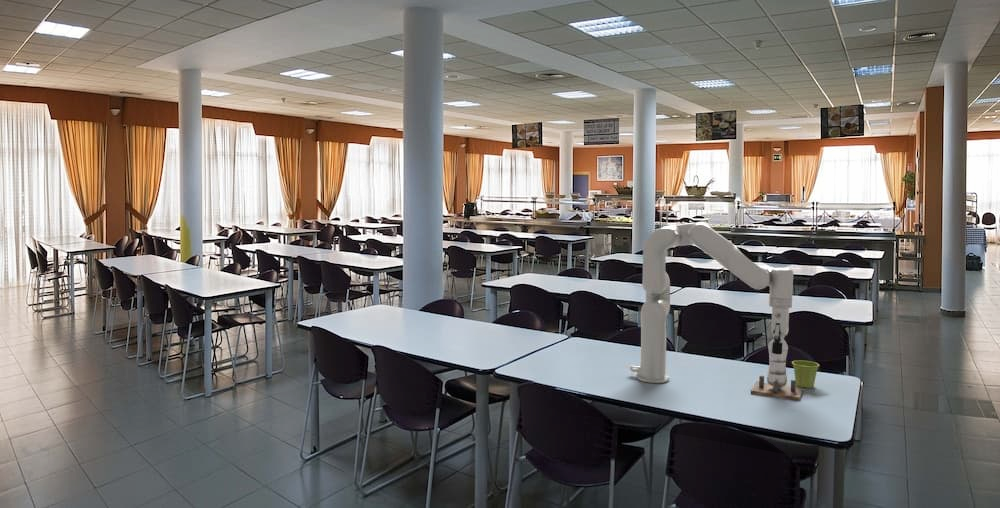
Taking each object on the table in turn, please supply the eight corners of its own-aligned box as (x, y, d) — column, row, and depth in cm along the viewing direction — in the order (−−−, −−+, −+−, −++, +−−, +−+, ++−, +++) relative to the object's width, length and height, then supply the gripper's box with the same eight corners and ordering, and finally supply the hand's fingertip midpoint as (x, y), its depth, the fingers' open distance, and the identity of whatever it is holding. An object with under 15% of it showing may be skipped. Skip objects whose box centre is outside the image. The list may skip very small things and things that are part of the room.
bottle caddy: (750, 393, 228) (751, 379, 228) (756, 384, 239) (756, 371, 239) (799, 400, 220) (800, 386, 220) (802, 391, 231) (803, 377, 231)
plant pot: (785, 383, 241) (786, 361, 240) (804, 381, 244) (805, 359, 243) (804, 390, 232) (806, 367, 231) (824, 388, 235) (825, 365, 234)
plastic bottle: (788, 389, 226) (791, 334, 224) (768, 388, 227) (771, 333, 225) (784, 384, 232) (786, 330, 230) (764, 383, 234) (767, 329, 232)
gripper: (789, 307, 218) (786, 358, 219) (794, 300, 233) (791, 348, 234) (765, 305, 221) (763, 355, 223) (772, 298, 236) (770, 345, 238)
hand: (778, 351), depth 229 cm, fingers open, 6 cm apart
